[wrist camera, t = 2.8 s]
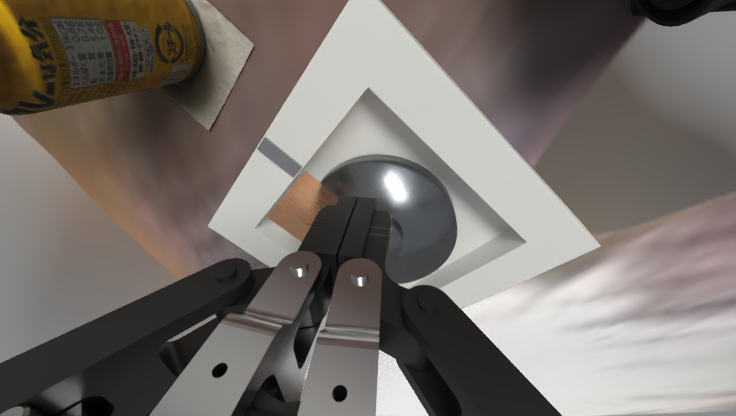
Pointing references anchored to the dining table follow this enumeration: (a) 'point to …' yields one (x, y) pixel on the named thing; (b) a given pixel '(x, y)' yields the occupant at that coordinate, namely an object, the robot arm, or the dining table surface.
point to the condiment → (117, 53)
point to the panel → (410, 141)
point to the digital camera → (678, 9)
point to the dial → (394, 194)
